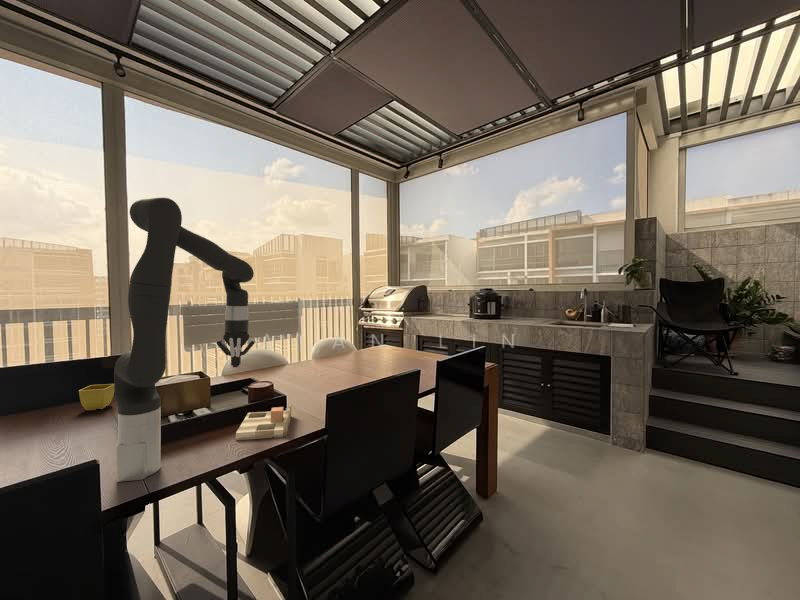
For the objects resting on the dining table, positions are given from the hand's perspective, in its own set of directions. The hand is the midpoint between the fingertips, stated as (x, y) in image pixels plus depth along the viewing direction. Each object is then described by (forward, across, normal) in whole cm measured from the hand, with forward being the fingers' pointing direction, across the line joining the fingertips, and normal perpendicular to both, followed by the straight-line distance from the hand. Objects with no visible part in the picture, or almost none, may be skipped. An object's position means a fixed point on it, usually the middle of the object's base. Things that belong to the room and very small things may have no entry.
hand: (235, 366), depth 120 cm
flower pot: (+23, -60, +32) cm, 72 cm away
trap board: (+23, +11, 0) cm, 25 cm away
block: (+20, +14, 0) cm, 25 cm away
